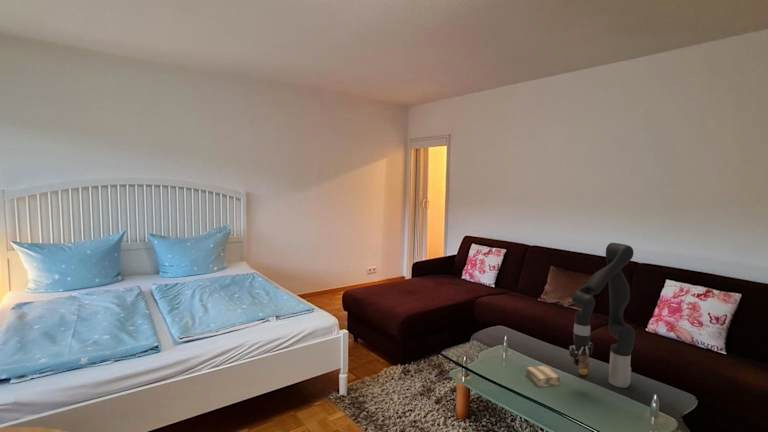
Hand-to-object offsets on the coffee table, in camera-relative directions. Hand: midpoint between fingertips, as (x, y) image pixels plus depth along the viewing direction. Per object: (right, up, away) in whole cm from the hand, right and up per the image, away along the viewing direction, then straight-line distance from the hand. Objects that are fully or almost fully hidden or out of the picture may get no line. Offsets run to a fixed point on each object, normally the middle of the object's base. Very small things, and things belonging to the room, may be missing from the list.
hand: (580, 364), depth 198 cm
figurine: (+10, -13, +17) cm, 24 cm away
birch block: (-14, -14, +13) cm, 24 cm away
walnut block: (0, -1, 0) cm, 1 cm away
